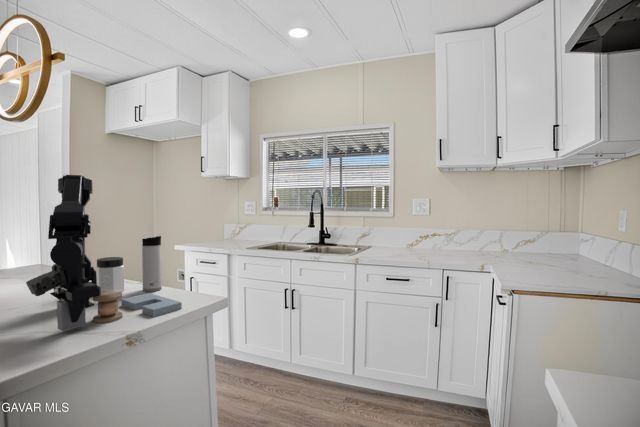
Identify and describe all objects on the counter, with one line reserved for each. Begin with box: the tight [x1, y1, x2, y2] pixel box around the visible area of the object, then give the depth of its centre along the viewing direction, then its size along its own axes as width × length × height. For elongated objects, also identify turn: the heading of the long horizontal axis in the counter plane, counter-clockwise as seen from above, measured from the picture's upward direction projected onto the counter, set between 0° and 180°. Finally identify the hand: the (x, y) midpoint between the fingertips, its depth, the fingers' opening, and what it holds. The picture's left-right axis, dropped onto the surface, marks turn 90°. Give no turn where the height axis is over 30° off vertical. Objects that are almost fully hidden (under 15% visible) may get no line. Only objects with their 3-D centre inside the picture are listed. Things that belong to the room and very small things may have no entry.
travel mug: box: [141, 235, 163, 293], centre depth 126 cm, size 6×7×20 cm
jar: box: [95, 256, 125, 293], centre depth 124 cm, size 9×8×12 cm
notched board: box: [120, 292, 183, 318], centre depth 106 cm, size 18×9×2 cm, turn 56°
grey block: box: [56, 299, 87, 332], centre depth 87 cm, size 3×5×8 cm, turn 146°
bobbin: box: [92, 292, 123, 324], centre depth 96 cm, size 7×7×7 cm
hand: (71, 320), depth 87 cm, fingers closed on grey block, 3 cm apart
